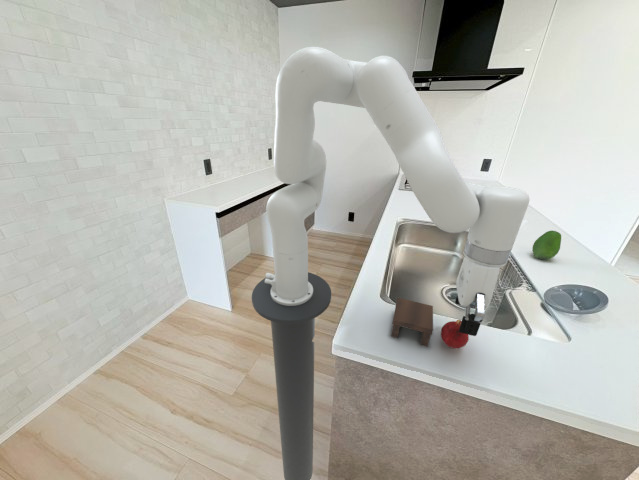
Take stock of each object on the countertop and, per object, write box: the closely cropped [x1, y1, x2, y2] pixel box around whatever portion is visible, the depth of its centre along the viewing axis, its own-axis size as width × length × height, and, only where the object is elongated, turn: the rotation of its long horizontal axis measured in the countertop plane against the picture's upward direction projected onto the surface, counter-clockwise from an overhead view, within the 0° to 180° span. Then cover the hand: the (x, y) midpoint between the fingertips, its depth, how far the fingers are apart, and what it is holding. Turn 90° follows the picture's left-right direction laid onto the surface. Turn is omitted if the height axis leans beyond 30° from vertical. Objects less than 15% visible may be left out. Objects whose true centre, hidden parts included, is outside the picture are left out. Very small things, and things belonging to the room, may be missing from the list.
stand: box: [390, 297, 434, 347], centre depth 66 cm, size 9×9×6 cm
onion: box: [440, 319, 470, 349], centre depth 60 cm, size 6×6×8 cm
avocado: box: [531, 230, 562, 261], centre depth 99 cm, size 8×8×12 cm
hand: (464, 318), depth 58 cm, fingers open, 9 cm apart
